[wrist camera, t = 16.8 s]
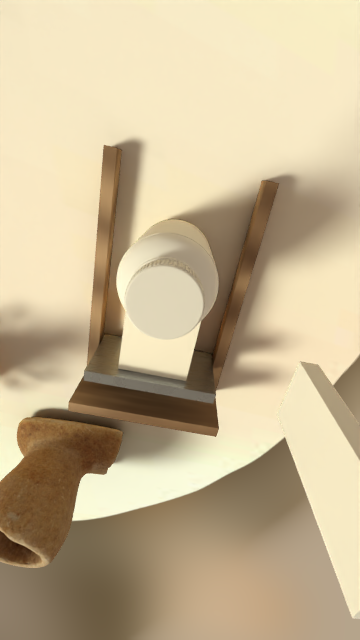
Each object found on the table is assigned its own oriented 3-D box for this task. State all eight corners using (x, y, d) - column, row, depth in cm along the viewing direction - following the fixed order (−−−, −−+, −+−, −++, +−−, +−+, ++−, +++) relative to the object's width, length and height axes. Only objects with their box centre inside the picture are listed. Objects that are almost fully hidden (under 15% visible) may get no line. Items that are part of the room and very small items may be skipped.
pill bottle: (222, 234, 32) (246, 272, 18) (193, 299, 35) (195, 373, 21) (152, 205, 31) (121, 222, 17) (129, 275, 34) (88, 336, 20)
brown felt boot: (24, 461, 47) (-44, 574, 34) (21, 403, 42) (-60, 507, 29) (118, 476, 48) (90, 592, 34) (126, 421, 43) (96, 530, 29)
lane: (109, 147, 29) (81, 135, 21) (273, 183, 30) (300, 183, 22) (90, 369, 39) (68, 410, 32) (211, 390, 40) (216, 436, 33)
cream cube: (138, 282, 34) (126, 305, 28) (199, 294, 35) (201, 320, 28) (130, 336, 37) (118, 368, 31) (187, 347, 38) (185, 381, 31)
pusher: (105, 333, 37) (84, 370, 30) (211, 353, 38) (215, 394, 30) (104, 342, 37) (83, 380, 30) (208, 361, 38) (213, 403, 31)
